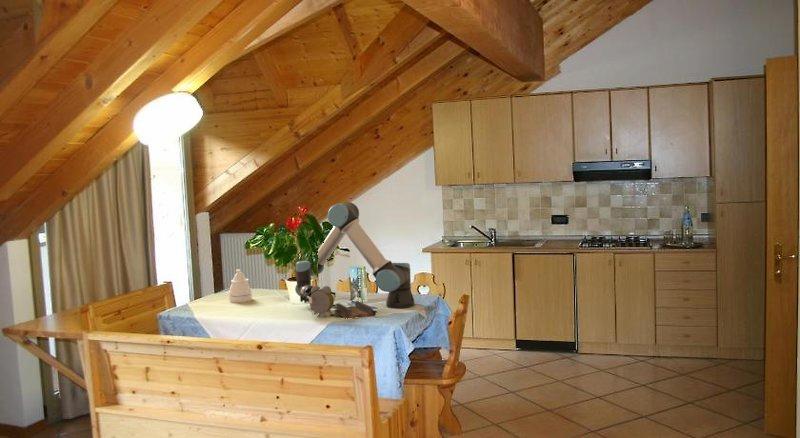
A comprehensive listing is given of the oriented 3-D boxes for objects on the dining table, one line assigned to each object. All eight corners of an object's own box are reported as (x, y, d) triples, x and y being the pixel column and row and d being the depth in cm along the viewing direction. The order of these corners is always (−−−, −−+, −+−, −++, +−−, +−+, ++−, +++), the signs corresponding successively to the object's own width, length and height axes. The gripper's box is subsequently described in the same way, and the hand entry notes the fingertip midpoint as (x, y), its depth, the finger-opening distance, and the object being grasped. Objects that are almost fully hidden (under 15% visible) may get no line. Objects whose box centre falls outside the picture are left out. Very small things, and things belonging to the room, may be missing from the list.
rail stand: (360, 309, 361) (359, 300, 361) (373, 315, 345) (373, 306, 344) (334, 312, 355) (334, 303, 355) (347, 319, 339) (346, 310, 338)
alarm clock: (335, 314, 346) (333, 285, 345) (329, 317, 339) (327, 287, 338) (314, 313, 350) (312, 284, 349) (308, 316, 344) (306, 287, 342)
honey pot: (249, 302, 392) (247, 270, 390) (226, 302, 392) (224, 271, 391) (254, 297, 405) (252, 267, 403) (232, 298, 405) (230, 268, 403)
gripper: (331, 297, 368) (345, 304, 348) (288, 302, 358) (300, 309, 338) (330, 283, 367) (344, 289, 347) (287, 288, 357) (299, 294, 337)
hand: (323, 299), depth 343 cm, fingers closed on alarm clock, 11 cm apart
